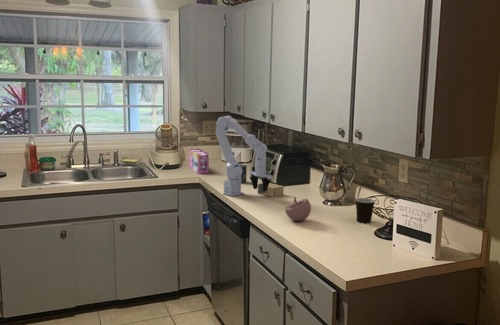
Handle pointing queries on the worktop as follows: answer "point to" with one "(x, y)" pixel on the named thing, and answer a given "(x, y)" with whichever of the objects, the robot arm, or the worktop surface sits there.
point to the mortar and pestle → (298, 210)
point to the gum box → (199, 161)
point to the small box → (243, 173)
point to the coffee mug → (364, 209)
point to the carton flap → (268, 192)
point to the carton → (276, 189)
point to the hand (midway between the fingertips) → (260, 190)
